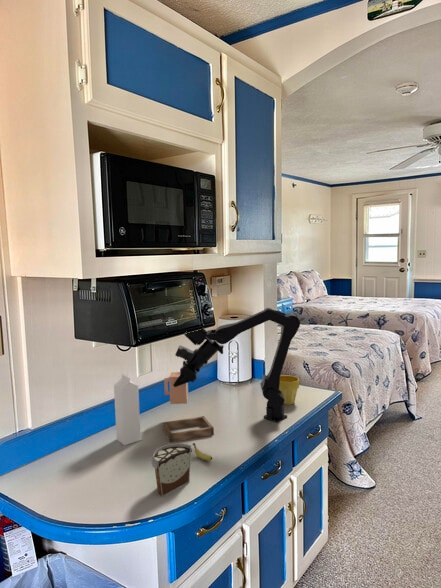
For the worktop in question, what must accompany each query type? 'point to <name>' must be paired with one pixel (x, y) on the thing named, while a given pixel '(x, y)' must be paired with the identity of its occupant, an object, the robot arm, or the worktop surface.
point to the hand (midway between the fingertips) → (175, 383)
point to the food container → (171, 467)
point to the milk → (127, 411)
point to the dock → (190, 433)
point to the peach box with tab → (176, 390)
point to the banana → (202, 454)
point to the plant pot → (289, 388)
